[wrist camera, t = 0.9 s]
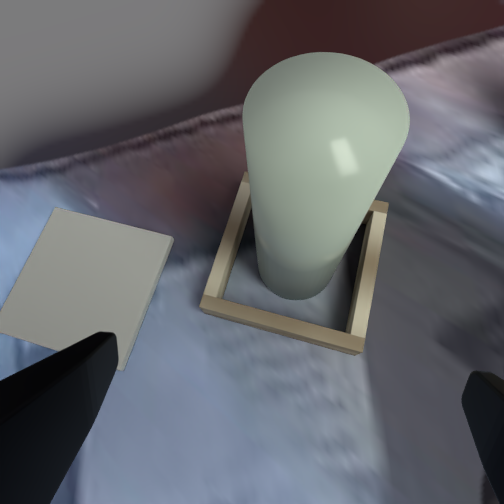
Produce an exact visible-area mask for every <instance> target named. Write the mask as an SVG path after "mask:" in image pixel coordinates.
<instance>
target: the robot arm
mask: <svg viewBox="0 0 504 504" xmlns="http://www.w3.org/2000/svg"><path fill="white" fill-rule="evenodd" d="M118 361H119V356H118V346H117V337H116V334H115V333H113V332H104V331H99V332H96V333H94V334H92V335H90V336H88V337H86V338H84V339H82V340H81V341H79V342H77V343H75V344H73V345H71V346H69V347H67V348H65V349H63V350H61V351H59V352H57V353H55V354H53V355H51V356H49V357H47V358H45V359H43V360H41V361H39V362H37V363H35V364H33V365H31V366H29V367H27V368H25V369H23V370H21V371H19V372H17V373H15V374H13V375H11V376H9V377H7V378H5V379H3V380H1V381H0V504H50V503H51V501H52V499H53V497H54V495H55V493H56V492H57V490H58V488H59V486H60V484H61V483H62V481H63V479H64V477H65V475H66V473H67V472H68V470H69V468H70V466H71V464H72V462H73V461H74V459H75V457H76V455H77V453H78V451H79V450H80V448H81V446H82V444H83V442H84V440H85V439H86V437H87V435H88V433H89V431H90V429H91V427H92V425H93V423H94V421H95V419H96V417H97V415H98V412H99V410H100V408H101V405H102V403H103V400H104V398H105V396H106V393H107V391H108V388H109V386H110V384H111V381H112V379H113V376H114V374H115V372H116V369H117V366H118ZM462 407H463V410H464V413H465V416H466V419H467V422H468V424H469V427H470V430H471V433H472V436H473V439H474V442H475V445H476V448H477V451H478V454H479V457H480V460H481V462H482V465H483V468H484V470H485V472H486V475H487V477H488V479H489V481H490V483H491V486H492V488H493V490H494V493H495V495H496V497H497V499H498V501H499V504H504V380H503V379H501V378H500V377H498V376H497V375H495V374H493V373H491V372H485V371H473V372H471V373H470V375H469V378H468V381H467V383H466V386H465V389H464V391H463V394H462Z"/></svg>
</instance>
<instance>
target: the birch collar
mask: <svg viewBox="0 0 504 504" xmlns="http://www.w3.org/2000/svg"><path fill="white" fill-rule="evenodd" d="M388 204H389V203H387V202H382V201H377V200H373V202H372V204H371V206H370V208H369V210H368V212H367V213H366V215H365V217H364V219H363V221H362V224H366V228H365V233H364V239H363V244H362V249H361V254H360V259H359V264H358V269H357V275H356V280H355V285H354V290H353V295H352V300H351V305H350V311H349V316H348V321H347V326H346V331H345V333H344V332H341V331H337V330H333V329H330V328H326V327H322V326H319V325H315V324H311V323H308V322H304V321H300V320H297V319H293V318H289V317H286V316H282V315H278V314H275V313H271V312H267V311H264V310H260V309H256V308H253V307H249V306H245V305H242V304H238V303H234V302H231V301H227V300H224V299H222V298H223V295H224V292H225V289H226V286H227V283H228V280H229V276H230V273H231V270H232V267H233V264H234V261H235V258H236V255H237V251H238V248H239V245H240V242H241V239H242V236H243V233H244V229H245V226H246V223H247V220H248V217H249V214H250V211H251V208H252V203H251V194H250V185H249V175H248V172H245V173H244V176H243V179H242V182H241V184H240V187H239V190H238V193H237V196H236V199H235V202H234V205H233V208H232V211H231V214H230V217H229V220H228V223H227V226H226V229H225V232H224V235H223V237H222V240H221V243H220V246H219V249H218V252H217V255H216V258H215V261H214V264H213V267H212V270H211V273H210V276H209V279H208V282H207V285H206V288H205V290H204V293H203V296H202V299H201V302H200V305H199V307H200V309H201V310H202V311H203V312H204V313H205V314H209V315H212V316H216V317H219V318H223V319H226V320H230V321H233V322H237V323H241V324H244V325H248V326H251V327H255V328H258V329H262V330H265V331H269V332H273V333H276V334H280V335H283V336H287V337H290V338H294V339H297V340H301V341H305V342H308V343H312V344H315V345H319V346H322V347H326V348H329V349H333V350H337V351H340V352H344V353H347V354H351V355H354V356H355V355H357V354H360V353H362V352H363V347H364V341H365V336H366V330H367V324H368V318H369V313H370V307H371V301H372V296H373V290H374V284H375V278H376V273H377V267H378V261H379V256H380V250H381V244H382V238H383V233H384V227H385V221H386V215H387V210H388Z"/></svg>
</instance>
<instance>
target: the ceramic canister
mask: <svg viewBox="0 0 504 504" xmlns="http://www.w3.org/2000/svg"><path fill="white" fill-rule="evenodd" d="M409 123H410V117H409V109H408V106H407V102H406V100H405V97H404V95H403V93H402V92H401V90H400V88H399V87H398V86H397V84H396V83H395V82H394V81H393V80H392V79H391V78H390V77H389V76H388V75H387V74H386V73H385V72H383V71H382V70H381V69H379V68H378V67H376V66H374V65H373V64H371V63H369V62H366V61H364V60H362V59H359V58H356V57H353V56H350V55H345V54H340V53H331V52H330V53H329V52H317V53H308V54H303V55H298V56H295V57H291V58H289V59H286V60H284V61H282V62H280V63H278V64H276V65H274V66H273V67H271V68H270V69H268V70H267V71H266V72H264V73H263V75H261V76H260V77H259V78H258V79H257V81H256V82H255V83H254V84H253V86H252V87H251V89H250V90H249V93H248V95H247V97H246V99H245V103H244V107H243V128H244V138H245V147H246V156H247V166H248V175H249V185H250V194H251V203H252V213H253V222H254V232H255V241H256V251H257V260H258V269H259V273H260V276H261V279H262V281H263V282H264V284H265V285H266V286H267V287H268V289H269V290H271V291H272V292H273V293H275V294H276V295H278V296H280V297H282V298H285V299H289V300H304V299H308V298H311V297H314V296H316V295H317V294H319V293H320V292H321V291H322V290H324V289H325V287H326V286H327V285H328V283H329V282H330V280H331V278H332V276H333V274H334V272H335V271H336V269H337V267H338V265H339V263H340V261H341V260H342V258H343V256H344V254H345V252H346V250H347V248H348V247H349V245H350V243H351V241H352V239H353V237H354V236H355V234H356V232H357V230H358V228H359V226H360V224H361V223H362V221H363V219H364V217H365V215H366V213H367V212H368V210H369V208H370V206H371V204H372V202H373V200H374V199H375V197H376V195H377V193H378V191H379V189H380V188H381V186H382V184H383V182H384V180H385V178H386V176H387V175H388V173H389V171H390V169H391V167H392V165H393V164H394V162H395V160H396V158H397V156H398V154H399V153H400V151H401V149H402V147H403V145H404V143H405V140H406V138H407V135H408V131H409Z"/></svg>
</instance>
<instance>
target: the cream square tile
mask: <svg viewBox="0 0 504 504" xmlns="http://www.w3.org/2000/svg"><path fill="white" fill-rule="evenodd" d="M173 242H174V239H173V237H172V236H168V235H164V234H160V233H156V232H152V231H148V230H144V229H140V228H136V227H132V226H128V225H124V224H120V223H117V222H113V221H109V220H105V219H101V218H97V217H93V216H89V215H85V214H81V213H77V212H73V211H69V210H65V209H61V208H57V207H55V209H54V210H53V212H52V214H51V216H50V218H49V220H48V222H47V224H46V226H45V227H44V229H43V231H42V233H41V235H40V237H39V239H38V241H37V243H36V245H35V246H34V248H33V250H32V252H31V254H30V256H29V258H28V260H27V262H26V263H25V265H24V267H23V269H22V271H21V273H20V275H19V277H18V279H17V280H16V282H15V284H14V286H13V288H12V290H11V292H10V294H9V296H8V298H7V299H6V301H5V303H4V305H3V307H2V309H1V311H0V333H3V334H6V335H9V336H12V337H15V338H18V339H22V340H25V341H28V342H31V343H34V344H37V345H41V346H44V347H47V348H50V349H53V350H56V351H61V350H63V349H65V348H67V347H69V346H71V345H73V344H75V343H77V342H79V341H81V340H82V339H84V338H86V337H88V336H90V335H92V334H94V333H96V332H99V331H104V332H113V333H115V334H116V337H117V346H118V356H119V361H118V366H117V369H116V370H119V371H124V368H125V366H126V363H127V361H128V358H129V356H130V353H131V350H132V348H133V345H134V343H135V340H136V338H137V335H138V332H139V330H140V327H141V325H142V322H143V320H144V317H145V314H146V312H147V309H148V307H149V304H150V301H151V299H152V296H153V294H154V291H155V289H156V286H157V283H158V281H159V278H160V276H161V273H162V271H163V268H164V265H165V263H166V260H167V258H168V255H169V253H170V250H171V247H172V245H173Z"/></svg>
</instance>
